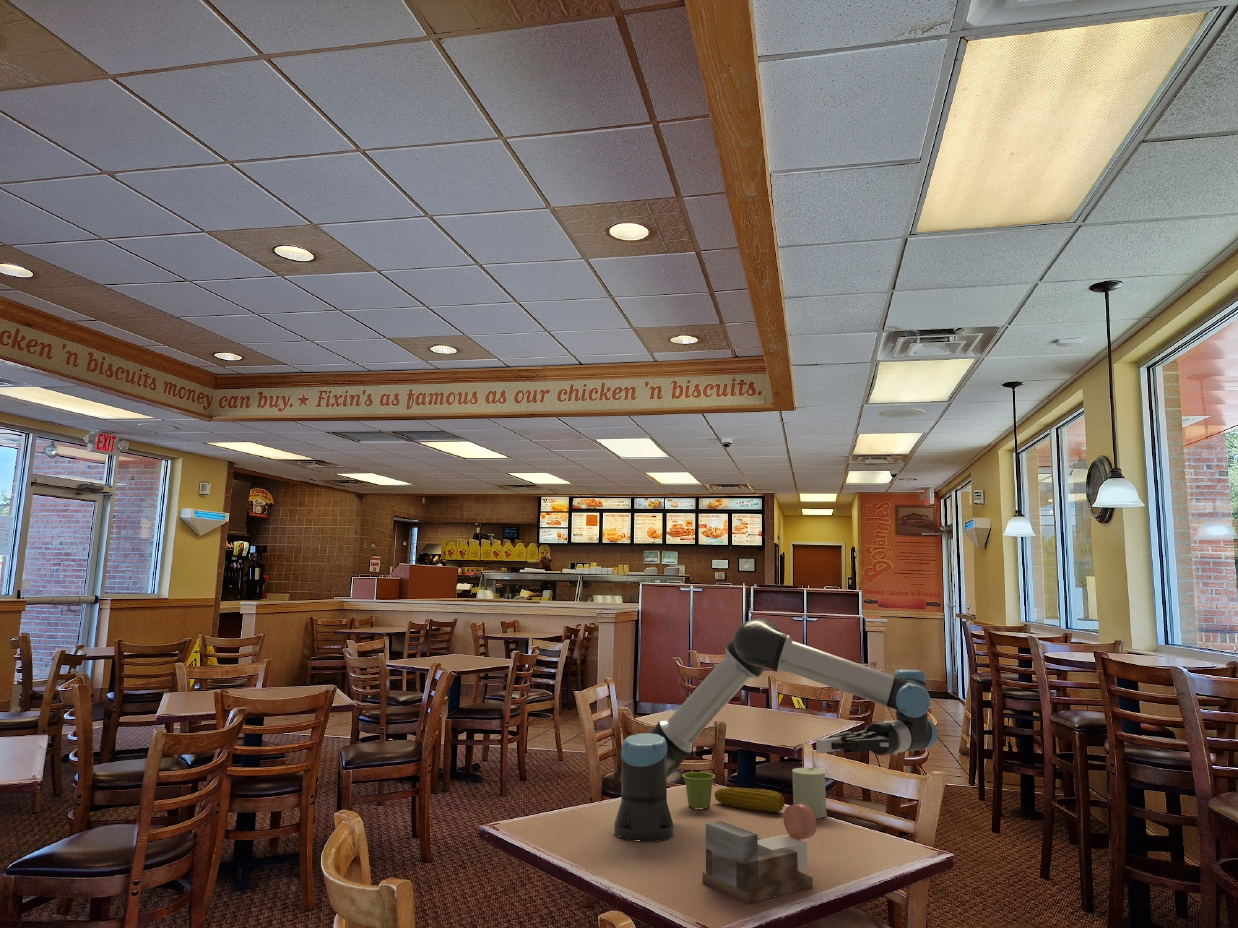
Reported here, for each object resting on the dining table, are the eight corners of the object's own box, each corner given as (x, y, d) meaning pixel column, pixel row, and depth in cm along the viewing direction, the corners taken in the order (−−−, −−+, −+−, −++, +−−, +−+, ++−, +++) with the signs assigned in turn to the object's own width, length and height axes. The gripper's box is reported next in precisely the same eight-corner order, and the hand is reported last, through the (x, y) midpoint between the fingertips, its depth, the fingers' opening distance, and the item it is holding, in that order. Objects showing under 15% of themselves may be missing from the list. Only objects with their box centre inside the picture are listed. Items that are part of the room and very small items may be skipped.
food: (786, 812, 222) (785, 790, 223) (778, 816, 217) (778, 794, 218) (718, 801, 233) (717, 780, 234) (709, 805, 228) (709, 783, 229)
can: (829, 812, 222) (828, 767, 224) (823, 820, 214) (822, 773, 216) (797, 808, 226) (795, 764, 228) (789, 816, 217) (788, 770, 220)
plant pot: (681, 810, 222) (681, 777, 224) (684, 801, 232) (683, 770, 233) (714, 811, 221) (714, 779, 222) (716, 803, 230) (715, 772, 231)
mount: (747, 904, 154) (746, 838, 156) (702, 882, 165) (702, 821, 167) (812, 887, 163) (811, 825, 165) (765, 867, 175) (764, 810, 177)
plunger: (773, 876, 162) (772, 815, 165) (750, 867, 168) (749, 807, 170) (817, 865, 169) (816, 807, 171) (794, 856, 175) (792, 800, 177)
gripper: (910, 758, 186) (841, 768, 173) (866, 749, 196) (798, 758, 184) (908, 725, 187) (840, 733, 174) (864, 718, 198) (797, 725, 185)
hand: (818, 746), depth 179 cm, fingers closed
